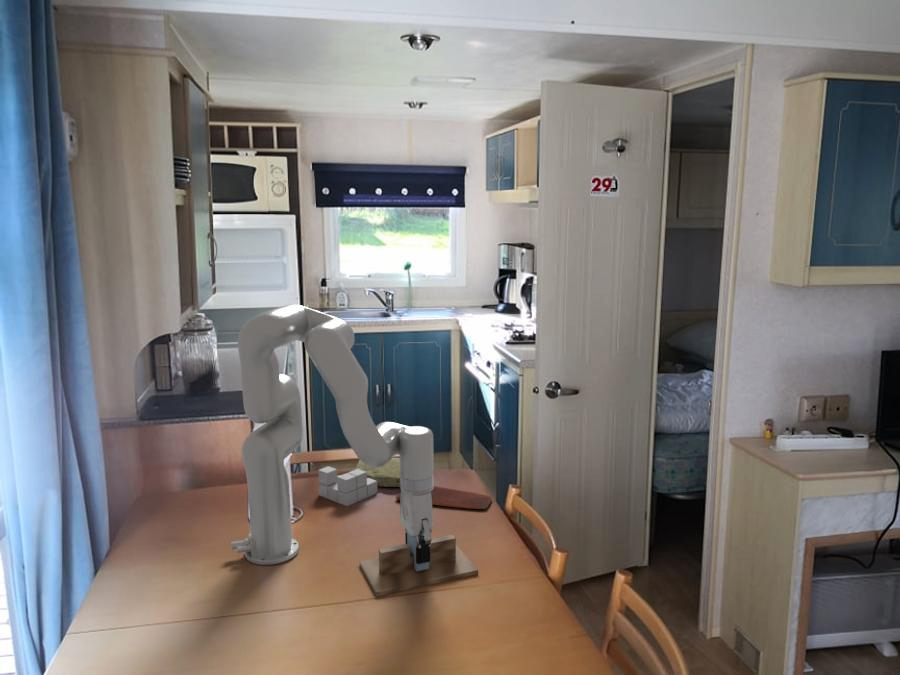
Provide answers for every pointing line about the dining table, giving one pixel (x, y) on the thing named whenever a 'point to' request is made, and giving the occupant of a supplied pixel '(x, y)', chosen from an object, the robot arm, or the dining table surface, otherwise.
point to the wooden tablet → (457, 498)
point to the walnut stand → (400, 574)
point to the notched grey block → (413, 544)
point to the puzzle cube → (345, 485)
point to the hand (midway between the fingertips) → (417, 554)
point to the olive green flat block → (383, 473)
